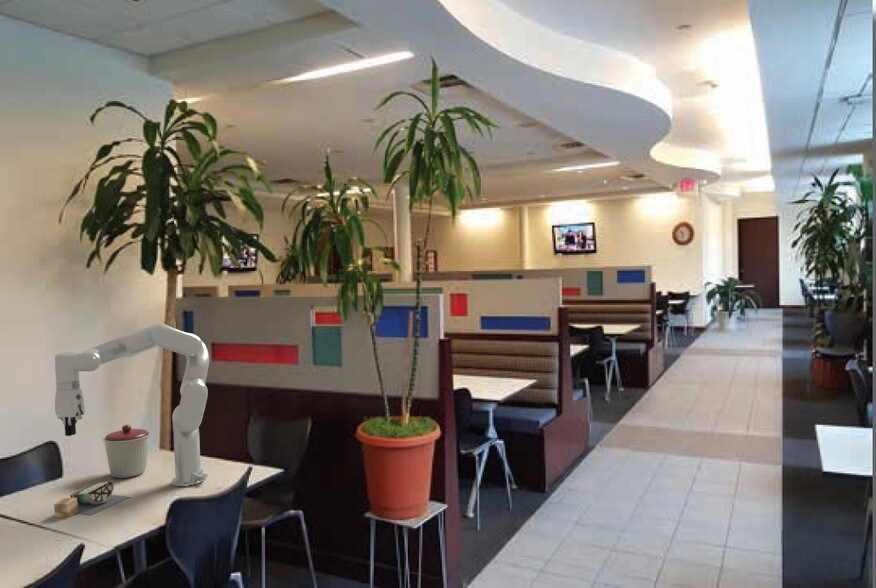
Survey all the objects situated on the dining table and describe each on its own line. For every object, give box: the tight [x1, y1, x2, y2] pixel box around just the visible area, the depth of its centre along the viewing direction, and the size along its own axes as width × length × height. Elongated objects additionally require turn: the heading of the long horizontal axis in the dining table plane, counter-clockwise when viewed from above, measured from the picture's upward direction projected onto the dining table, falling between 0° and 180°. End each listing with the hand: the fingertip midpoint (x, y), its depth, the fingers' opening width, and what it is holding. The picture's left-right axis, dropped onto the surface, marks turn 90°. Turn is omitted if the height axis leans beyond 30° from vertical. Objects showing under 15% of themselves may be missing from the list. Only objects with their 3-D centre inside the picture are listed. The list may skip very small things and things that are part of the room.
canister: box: [102, 424, 152, 479], centre depth 265 cm, size 18×18×21 cm
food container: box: [69, 480, 115, 505], centre depth 232 cm, size 12×6×10 cm
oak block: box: [53, 497, 79, 519], centre depth 221 cm, size 5×5×5 cm
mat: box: [76, 494, 133, 516], centre depth 231 cm, size 12×18×1 cm, turn 161°
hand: (70, 434), depth 234 cm, fingers closed
